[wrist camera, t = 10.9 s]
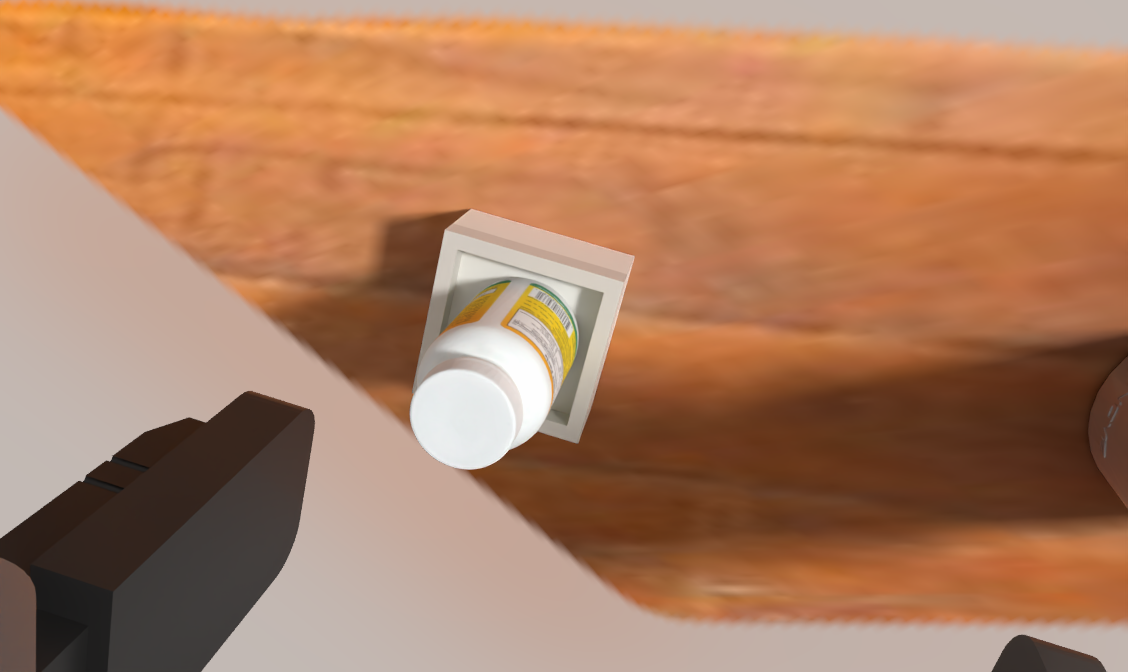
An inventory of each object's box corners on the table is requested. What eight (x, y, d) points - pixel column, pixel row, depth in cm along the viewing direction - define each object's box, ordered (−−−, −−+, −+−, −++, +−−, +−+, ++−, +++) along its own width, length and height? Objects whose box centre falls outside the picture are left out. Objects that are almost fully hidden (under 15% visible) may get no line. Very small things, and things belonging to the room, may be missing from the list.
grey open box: (634, 256, 44) (624, 282, 40) (591, 405, 47) (578, 443, 43) (471, 208, 44) (445, 229, 40) (439, 359, 47) (411, 392, 43)
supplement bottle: (586, 283, 41) (542, 364, 32) (574, 394, 43) (530, 498, 34) (467, 266, 42) (393, 341, 33) (461, 376, 44) (389, 474, 35)
